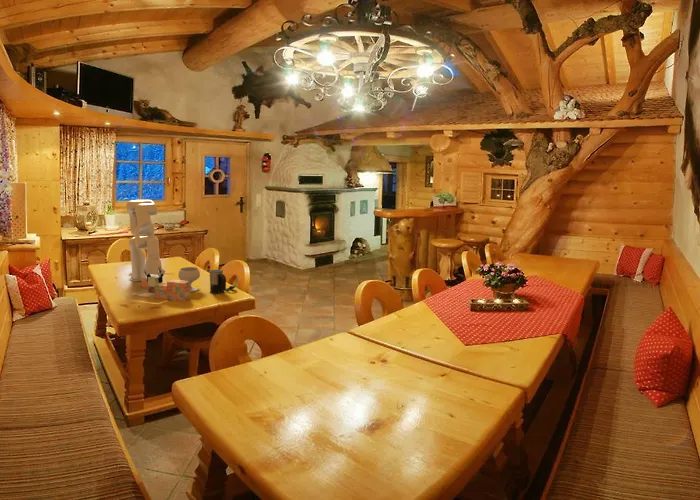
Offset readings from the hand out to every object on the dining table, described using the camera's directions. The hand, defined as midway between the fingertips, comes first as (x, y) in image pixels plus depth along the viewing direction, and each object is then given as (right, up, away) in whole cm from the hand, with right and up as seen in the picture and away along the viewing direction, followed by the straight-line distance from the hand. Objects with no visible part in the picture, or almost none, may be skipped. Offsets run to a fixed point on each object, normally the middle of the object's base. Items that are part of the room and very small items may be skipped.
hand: (154, 282), depth 330 cm
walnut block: (0, -6, +1) cm, 6 cm away
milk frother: (+44, -7, +7) cm, 45 cm away
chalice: (+21, -6, +8) cm, 23 cm away
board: (-2, -8, -2) cm, 8 cm away
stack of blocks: (+16, -10, -13) cm, 23 cm away
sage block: (0, -2, +1) cm, 3 cm away
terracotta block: (-9, -5, +13) cm, 17 cm away
